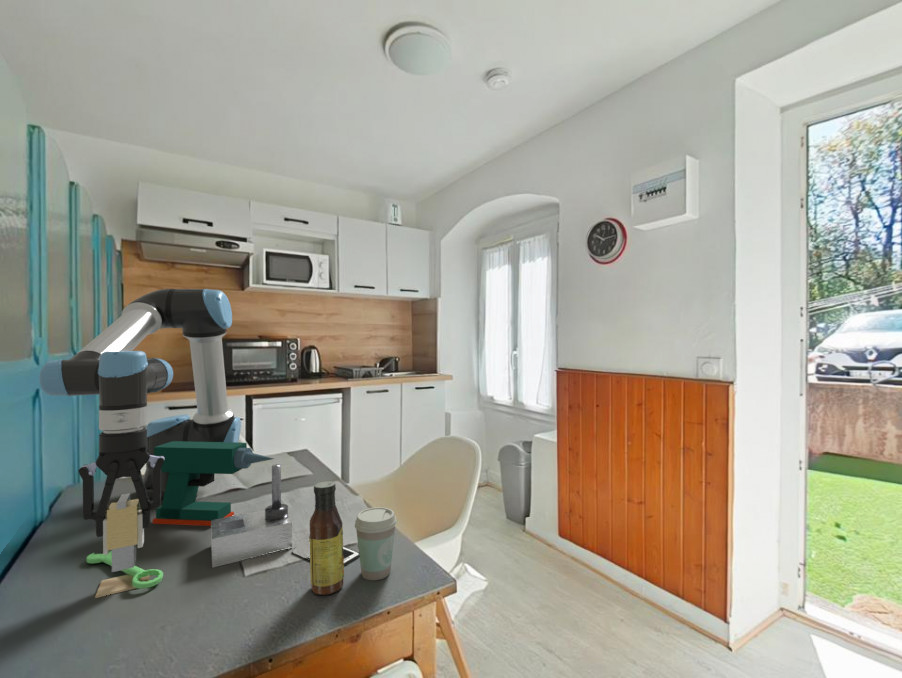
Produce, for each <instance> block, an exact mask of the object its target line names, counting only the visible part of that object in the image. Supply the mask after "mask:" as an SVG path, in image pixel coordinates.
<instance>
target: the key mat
mask: <svg viewBox="0 0 902 678" xmlns="http://www.w3.org/2000/svg"><path fill="white" fill-rule="evenodd" d="M133 577H134V576H131V575H129V574H125V575H119V576H115V577H110V578H107V579H102V580H101V582H100V583H99V585H98V588H97V591H96V593H95V596H94V598H95V599H99V598H102V597H105V596H106V595H107V596H110V594H111V595H114V594H118V593H122V592H126V591H127V592H128V591H131V590H134V589H137V588H136V587H134V586H133V585H132V579H133ZM150 578H151V575H148V576H146V577H142V578H141V579H138V580H137V581H140V582H143V581H145V582H147V581H150Z"/></svg>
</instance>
